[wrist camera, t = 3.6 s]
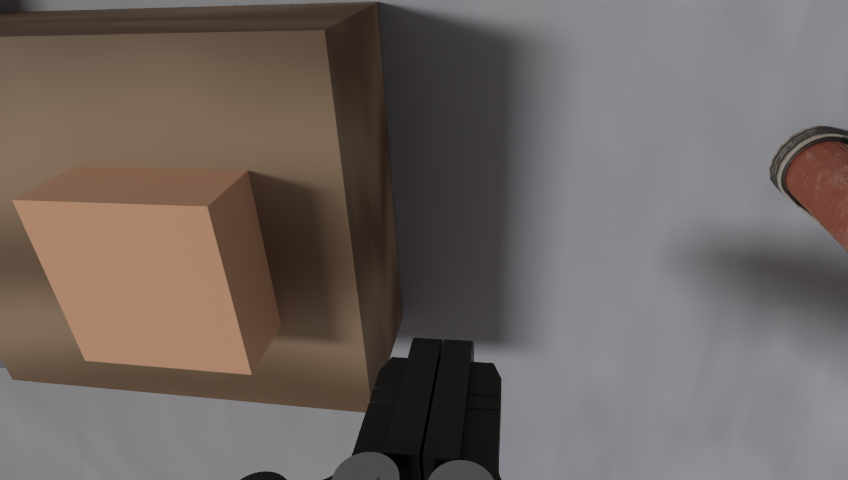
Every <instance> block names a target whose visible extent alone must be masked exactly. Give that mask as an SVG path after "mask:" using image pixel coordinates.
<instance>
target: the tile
mask: <svg viewBox="0 0 848 480" xmlns="http://www.w3.org/2000/svg"><path fill="white" fill-rule="evenodd" d="M12 201H13V203H14V206H15V208H16V210H17V212H18V214H19V217H20V219H21V221H22V223H23V225H24V227H25V230H26V232H27V234H28V236H29V238H30V241H31V243H32V245H33V247H34V249H35V252H36V254H37V256H38V258H39V260H40V263H41V265H42V267H43V269H44V271H45V274H46V276H47V278H48V280H49V282H50V285H51V287H52V289H53V291H54V293H55V296H56V298H57V300H58V302H59V304H60V307H61V309H62V311H63V313H64V315H65V318H66V320H67V322H68V324H69V326H70V329H71V331H72V333H73V335H74V337H75V340H76V342H77V344H78V346H79V348H80V351H81V353H82V355H83V357H84V359H85V361H93V362H105V363H117V364H129V365H141V366H152V367H164V368H176V369H188V370H199V371H211V372H223V373H235V374H247V375H252V374H253V372H254V370H255V369H256V367H257V365H258V364H259V362H260V360H261V359H262V357H263V355H264V354H265V352H266V351H267V349H268V347H269V346H270V344H271V342H272V341H273V339H274V337H275V336H276V334H277V332H278V331H279V329H280V327H281V322H280V318H279V313H278V308H277V304H276V299H275V294H274V290H273V285H272V280H271V276H270V271H269V267H268V262H267V257H266V253H265V248H264V243H263V239H262V234H261V229H260V225H259V220H258V216H257V211H256V206H255V202H254V197H253V192H252V188H251V183H250V179H249V174H248V170H205V169H160V168H115V167H72V168H70V169H68V170H67V171H65V172H63V173H61V174H59V175H57V176H55V177H54V178H52V179H50V180H48V181H46V182H44V183H42V184H41V185H39V186H37V187H35V188H33V189H31V190H29V191H28V192H26V193H24V194H22V195H20V196H18V197H17V198H15V199H13V200H12Z"/></svg>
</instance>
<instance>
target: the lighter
mask: <svg viewBox="0 0 848 480" xmlns="http://www.w3.org/2000/svg"><path fill="white" fill-rule="evenodd" d="M769 173H770V179H771V181H772V182H773V184H774V185H775V186H776V188H777V189H778V190H779V191H780V192H781V193H782V194H783V195H784V196H785V197H786V198H787V199H789V200H790V201H791V202H792V203H793V204H795V205H796V206H797V207H798V208H799V209H800V210H802V211H803V212H804V213H805V214H806V215H808V216H809V217H810V218H811V219H812V220H813V221H815V222H817V223H818V224H820V225H821V226H823V227H824V228H825V229H826V230H827V231H828V232H829V233H830V234H831V235H832V236H833V237H834V238H835V239H836V240H837V241H838V242H839V243H840V244H841V245H842V246H843V247H844V248H845V249H846V250H847V251H848V132H847V131H843V130H840V129H836V128H833V127H828V126H815V127H811V128H807V129H803V130H802V131H800V132H798V133H796V134H794V135H792V136H791V137H790V138H788V139H787V140H786V141H785V142H784V143H783V144H782V145H781V146H780V147H779V148H778V150H777V151H776V153H775V154H774V156H773V157H772V160H771V164H770V167H769Z"/></svg>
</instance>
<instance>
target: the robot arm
mask: <svg viewBox="0 0 848 480" xmlns="http://www.w3.org/2000/svg"><path fill="white" fill-rule="evenodd" d="M500 419H501V377H500V375H499V373H498V371H497V369H496V367H495V365H494V364H493V363H481V362H474V342H473V341H465V340H447V339H445V340H444V342H443V340H442V339H427V338H414V339H413V341H412V344H411V348H410V352H409V356H408V358H398V357H391V359H390V360H389V361H388V362H387V363H386V364H385V365H384V366H383V367H382V368H381V369H380V370H379V373H378V376H377V379H376V382H375V385H374V390H373V392H372V395H371V398H370V403H369V404H368V407H367V410H366V414H365V417H364V420H363V423H362V426H361V429H360V432H359V435H358V439H357V442H356V445H355V448H354V451H353V454H352V456H351V457H349V458H347V459H346V460H345V461H343V462H342V463H341V464H340V465H339V466H338V468H337V469H336V471H335V472H334V474H333V475H332V476H331V477H329V478H326V479H324V480H501V478H500V475H499V447H500ZM241 480H286V479H285V478H284V477H283V476H281V475H280V474H277V473H274V472H257V473H254V474H251V475H248V476H246V477H244V478H242V479H241Z"/></svg>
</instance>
